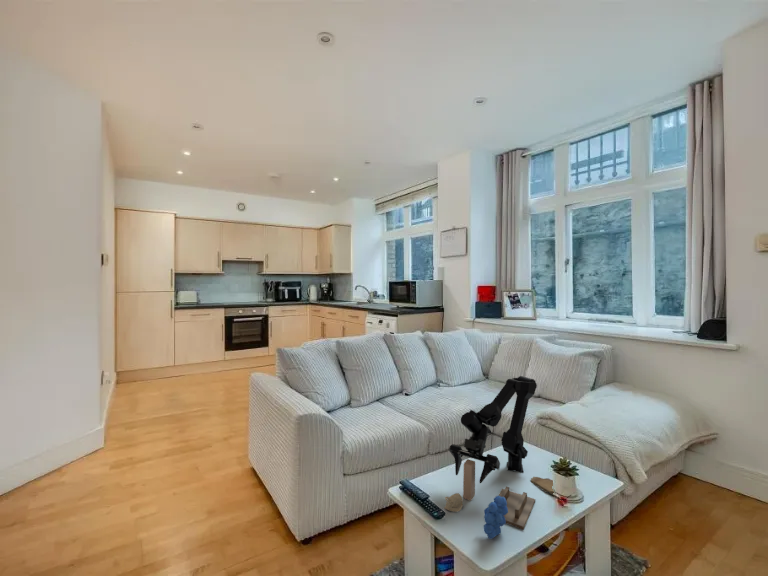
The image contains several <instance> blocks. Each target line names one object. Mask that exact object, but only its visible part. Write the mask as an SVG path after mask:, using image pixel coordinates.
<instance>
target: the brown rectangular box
mask: <svg viewBox="0 0 768 576" xmlns="http://www.w3.org/2000/svg"><path fill="white" fill-rule="evenodd" d="M462 483H463V485H462V487H463V488H462V489H463V491H462V499H464V500H468V501H470V502H471V501H472V500H473V499H474V498H475V496H476V494H475V493H476V461H475V460H471V459H469V458H467V459H466V460H465V462H463V482H462Z"/></svg>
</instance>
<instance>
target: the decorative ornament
mask: <svg viewBox="0 0 768 576" xmlns="http://www.w3.org/2000/svg"><path fill="white" fill-rule="evenodd" d="M444 500H445V501H446V503H445V505H444V510H448V511H449V512H454V513H457V512H461V511H462V509H463V507H464V506H463V502H464V501H463V496H462V495H461V494H460V493H454V494H452V495H450V496H445V497H444Z"/></svg>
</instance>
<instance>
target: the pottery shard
mask: <svg viewBox="0 0 768 576" xmlns="http://www.w3.org/2000/svg"><path fill="white" fill-rule="evenodd" d="M530 483H532V484H534V485H535V486H536V487H538V488H539V489H540V490H542V491H543V492H545V493H548V492H549V493H548V494H550V493H551V495H552V494H553V493H554V491H553V489H552V486H553V479H550V478H549V477H548V478H543V477H539V476H533V477H531V478H530Z"/></svg>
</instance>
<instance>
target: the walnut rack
mask: <svg viewBox="0 0 768 576" xmlns="http://www.w3.org/2000/svg"><path fill="white" fill-rule="evenodd" d="M510 489H511V488H510V487H509V486H505V488H501V489H500V492H499V493H498V494H497V496H501V497H504V498H505V499H506V502H507V505H506V506H507V508H508V513H507V514H506V515H503V516H504V517H505V520H506V524H508V525H509V526H512V527H515V528H517V529H520V530H524V529H525V528H526V525H527V522H528V520H529V518H530V516H531V514H532V512H533V511H532V510H533V508H534V506H535V503H536V499H535V498H534V497H529V496H528V492H525V491H523V492H522V494H521V493H518V492H514V491H512V490H510Z"/></svg>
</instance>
